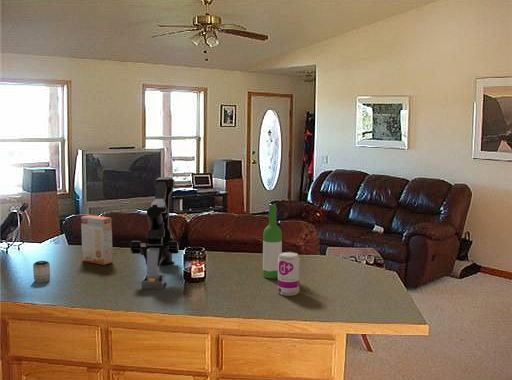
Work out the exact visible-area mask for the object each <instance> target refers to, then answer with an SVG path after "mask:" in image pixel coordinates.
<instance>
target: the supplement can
mask: <svg viewBox="0 0 512 380" xmlns="http://www.w3.org/2000/svg"><path fill="white" fill-rule="evenodd" d="M300 262H301V259H300V256H299V254H298V253H297V252H293V251H285V252H283V251H282V253H280V255H279V257H278V278H277V292H278V293H279V294H280V295H282V296H286V297H287V296H288V297H292V296H296V295H298V293H300V273H301V272H300V268H301V266H300Z"/></svg>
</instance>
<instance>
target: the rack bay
mask: <svg viewBox="0 0 512 380" xmlns="http://www.w3.org/2000/svg"><path fill="white" fill-rule="evenodd" d="M164 283H166V274H159V281H155V278H149V281H147V274H145V275H144V276H143V278H142V280H141V282H140V285H141V290H163V288H164V285H165V284H164Z"/></svg>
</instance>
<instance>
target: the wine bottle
mask: <svg viewBox="0 0 512 380" xmlns="http://www.w3.org/2000/svg"><path fill="white" fill-rule="evenodd" d="M268 206H269V207H268V209H269V210H268V211H269V213H268V225H267V226H266V227H265V228H264V229H263V233H262V234H263V236H262V237H263V238H262V239H263V240H262V275H263V277H264V278H265V279H269V280H270V279H272V280H275V279H278V257H279V255H280V253H283V249H282V248H283V240H282V239H283V233H282V229H281V227H279V225H277V205H275V204H274V205H273V204H270V205H268Z"/></svg>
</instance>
